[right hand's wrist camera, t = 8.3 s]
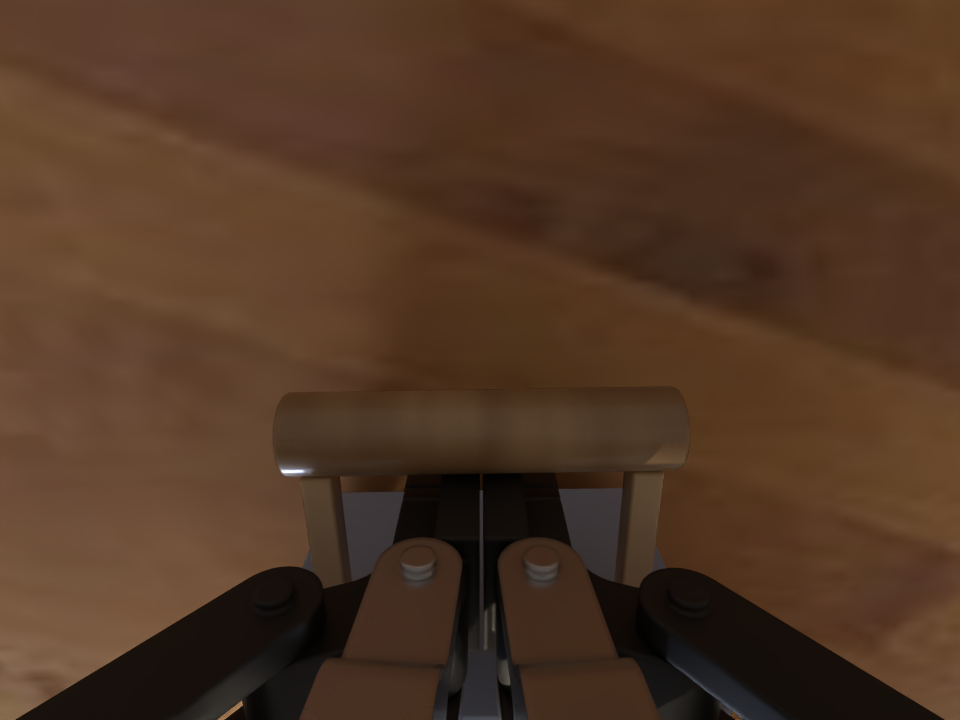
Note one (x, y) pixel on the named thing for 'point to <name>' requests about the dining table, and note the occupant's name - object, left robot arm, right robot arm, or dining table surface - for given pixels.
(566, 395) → the drawer
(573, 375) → the dining table surface
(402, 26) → the dining table surface
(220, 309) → the dining table surface
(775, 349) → the dining table surface
